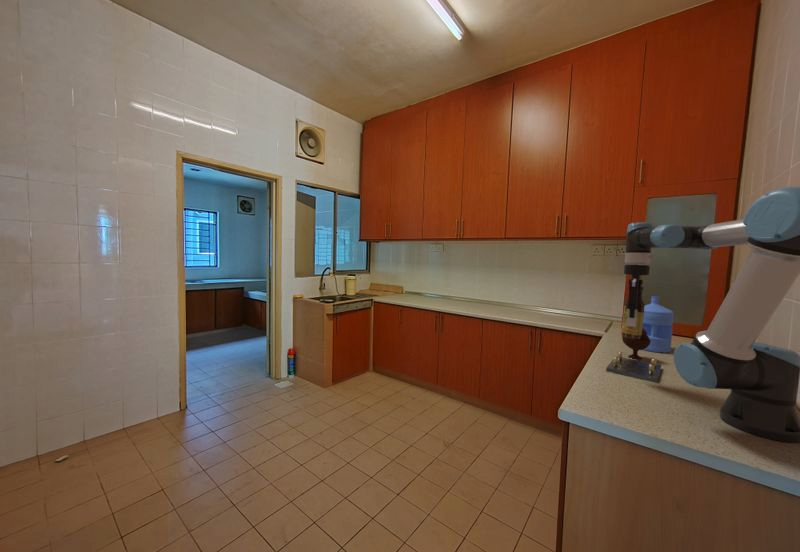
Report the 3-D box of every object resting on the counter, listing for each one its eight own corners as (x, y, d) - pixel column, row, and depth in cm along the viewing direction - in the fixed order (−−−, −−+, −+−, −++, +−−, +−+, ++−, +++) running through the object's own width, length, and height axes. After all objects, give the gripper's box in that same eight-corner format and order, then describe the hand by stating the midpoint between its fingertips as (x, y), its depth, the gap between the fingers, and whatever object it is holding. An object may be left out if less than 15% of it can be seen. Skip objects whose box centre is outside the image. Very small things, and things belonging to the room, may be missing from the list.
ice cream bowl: (650, 358, 146) (652, 327, 145) (648, 363, 138) (650, 330, 137) (622, 353, 153) (625, 323, 152) (619, 357, 145) (621, 326, 144)
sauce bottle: (617, 335, 120) (620, 284, 119) (633, 335, 120) (637, 285, 119) (629, 339, 114) (633, 286, 113) (646, 340, 114) (650, 286, 113)
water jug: (632, 343, 174) (635, 294, 172) (668, 348, 165) (673, 296, 163) (633, 349, 161) (637, 296, 160) (672, 355, 152) (677, 299, 150)
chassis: (656, 382, 115) (657, 369, 115) (606, 371, 126) (607, 359, 126) (661, 368, 131) (661, 357, 131) (615, 359, 142) (616, 348, 142)
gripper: (647, 264, 106) (642, 330, 107) (651, 264, 120) (647, 323, 121) (621, 263, 111) (616, 327, 112) (628, 264, 125) (623, 320, 126)
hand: (632, 325), depth 117 cm, fingers closed on sauce bottle, 6 cm apart
